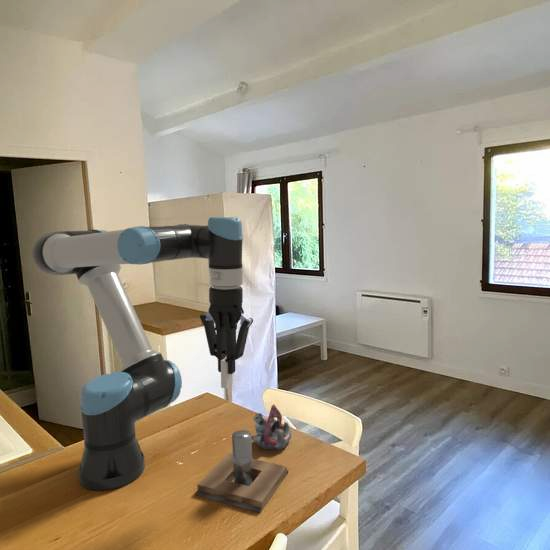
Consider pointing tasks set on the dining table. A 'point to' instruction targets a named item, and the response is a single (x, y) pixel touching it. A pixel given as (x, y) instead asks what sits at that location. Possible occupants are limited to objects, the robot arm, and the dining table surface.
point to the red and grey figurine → (271, 430)
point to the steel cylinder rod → (242, 457)
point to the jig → (241, 495)
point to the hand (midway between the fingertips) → (226, 385)
